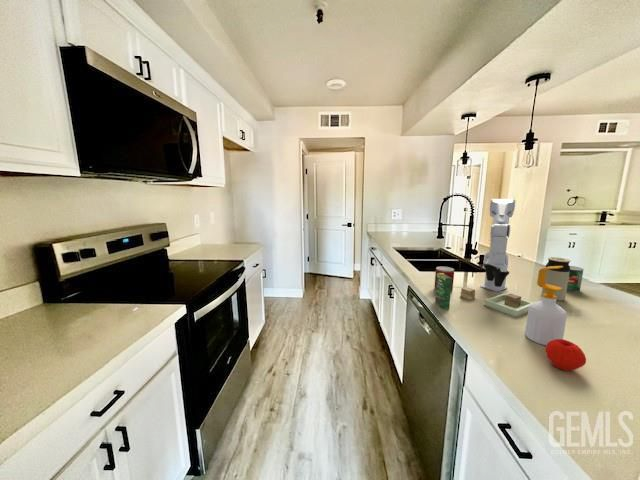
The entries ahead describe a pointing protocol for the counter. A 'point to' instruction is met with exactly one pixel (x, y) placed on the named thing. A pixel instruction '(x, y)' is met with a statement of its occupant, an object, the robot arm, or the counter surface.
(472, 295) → the block
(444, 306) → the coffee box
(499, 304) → the tray
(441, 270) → the canned food
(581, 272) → the canned tomato
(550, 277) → the travel mug
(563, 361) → the apple
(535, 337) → the soap bottle
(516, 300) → the block
